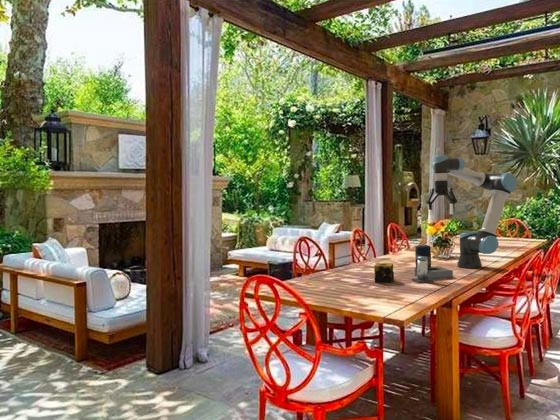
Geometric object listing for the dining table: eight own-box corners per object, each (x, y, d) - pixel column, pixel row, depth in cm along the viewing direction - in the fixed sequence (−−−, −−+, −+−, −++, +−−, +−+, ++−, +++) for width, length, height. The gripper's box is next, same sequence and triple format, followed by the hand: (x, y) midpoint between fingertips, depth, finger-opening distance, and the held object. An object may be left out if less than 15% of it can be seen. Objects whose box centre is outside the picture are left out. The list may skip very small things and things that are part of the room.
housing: (437, 273, 299) (437, 266, 298) (452, 277, 283) (452, 270, 283) (414, 275, 295) (414, 268, 295) (428, 279, 279) (428, 272, 279)
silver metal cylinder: (424, 278, 280) (424, 256, 279) (429, 279, 274) (429, 257, 274) (415, 278, 278) (415, 256, 278) (420, 280, 273) (420, 257, 273)
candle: (394, 280, 283) (393, 263, 282) (392, 283, 273) (392, 265, 273) (376, 279, 286) (376, 262, 286) (374, 282, 276) (373, 265, 276)
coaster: (425, 279, 282) (425, 277, 282) (433, 281, 273) (433, 280, 273) (411, 280, 280) (411, 278, 280) (419, 283, 271) (419, 281, 271)
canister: (432, 273, 298) (431, 245, 298) (416, 273, 300) (415, 245, 300) (430, 271, 308) (429, 243, 307) (415, 271, 310) (414, 243, 309)
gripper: (455, 179, 301) (456, 213, 302) (419, 180, 295) (420, 215, 296) (462, 179, 294) (463, 214, 295) (426, 180, 288) (426, 215, 289)
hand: (441, 214), depth 296 cm, fingers open, 13 cm apart
